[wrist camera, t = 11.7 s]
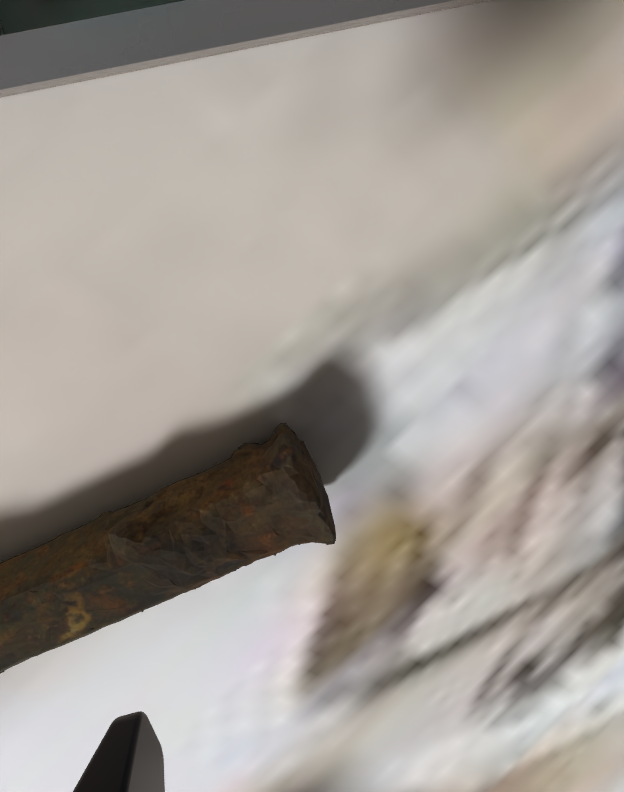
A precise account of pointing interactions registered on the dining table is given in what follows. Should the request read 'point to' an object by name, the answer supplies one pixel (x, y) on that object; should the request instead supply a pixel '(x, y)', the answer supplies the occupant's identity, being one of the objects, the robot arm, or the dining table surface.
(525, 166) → the dining table surface
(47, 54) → the grey block with hole
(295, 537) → the hand tool
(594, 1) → the dining table surface
